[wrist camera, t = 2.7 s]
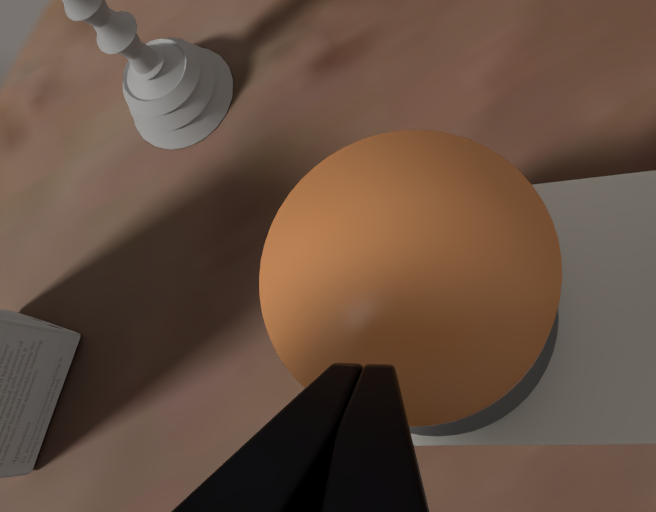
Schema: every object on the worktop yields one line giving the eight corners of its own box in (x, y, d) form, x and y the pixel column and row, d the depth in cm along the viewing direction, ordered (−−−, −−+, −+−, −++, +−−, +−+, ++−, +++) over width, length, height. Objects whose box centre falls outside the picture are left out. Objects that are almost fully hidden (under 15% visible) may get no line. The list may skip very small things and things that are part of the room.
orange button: (580, 408, 12) (598, 402, 9) (322, 441, 13) (272, 445, 10) (521, 164, 13) (523, 97, 11) (297, 215, 15) (248, 166, 12)
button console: (844, 231, 19) (1034, 118, 12) (897, 435, 17) (1153, 441, 10) (375, 271, 23) (315, 204, 16) (381, 440, 21) (317, 446, 14)
